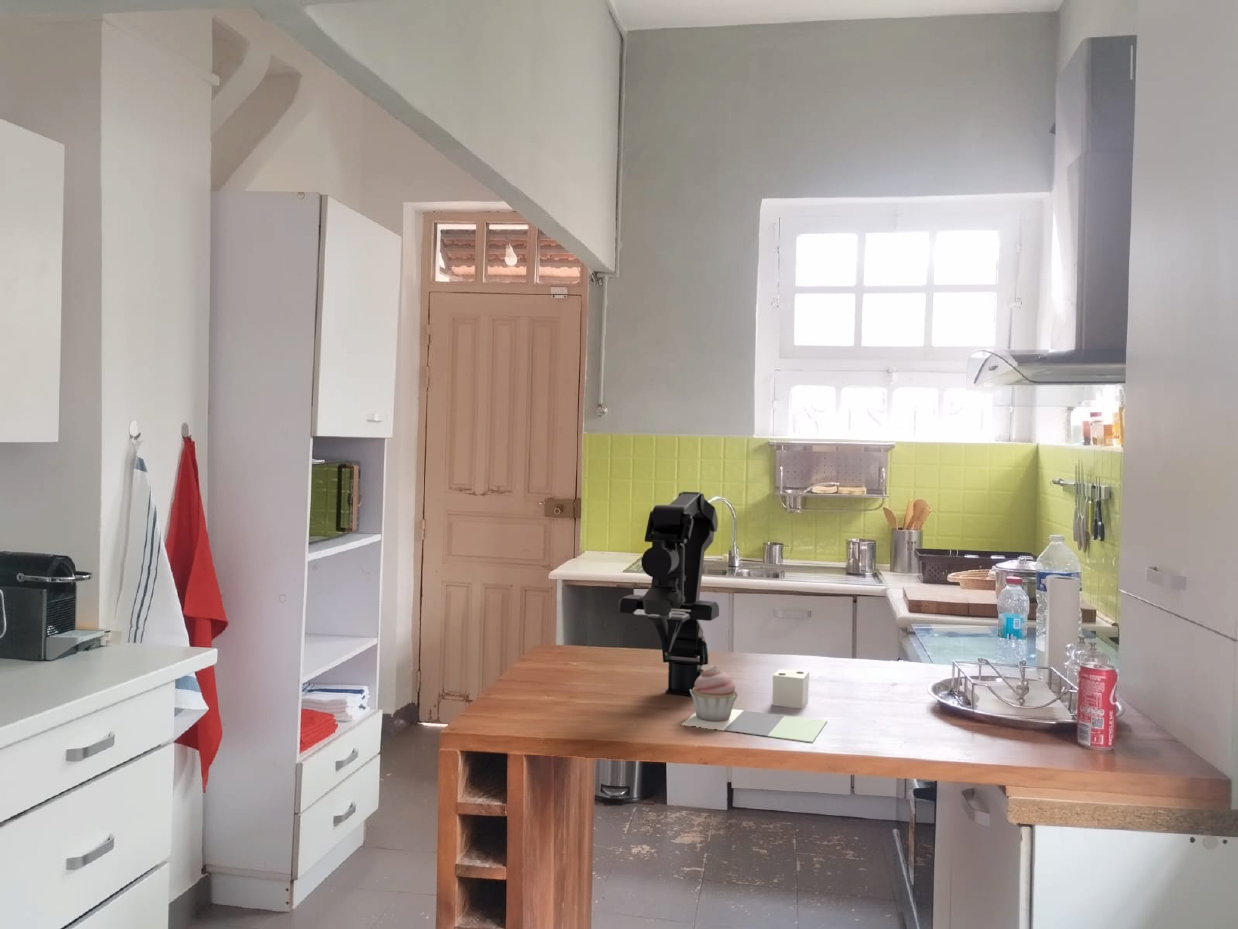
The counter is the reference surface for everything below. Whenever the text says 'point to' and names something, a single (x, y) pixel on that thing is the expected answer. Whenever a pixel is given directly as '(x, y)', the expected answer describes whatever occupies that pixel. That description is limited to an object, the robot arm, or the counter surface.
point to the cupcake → (713, 695)
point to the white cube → (790, 688)
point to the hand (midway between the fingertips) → (667, 652)
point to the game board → (764, 725)
